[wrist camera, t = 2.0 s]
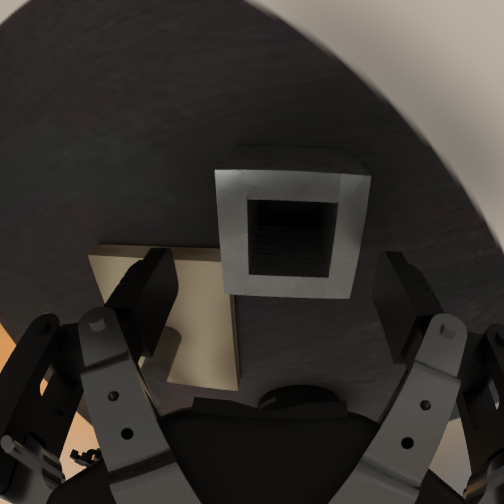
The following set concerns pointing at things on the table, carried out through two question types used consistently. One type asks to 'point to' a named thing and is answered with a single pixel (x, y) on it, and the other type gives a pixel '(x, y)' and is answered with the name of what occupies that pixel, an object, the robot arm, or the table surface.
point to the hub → (283, 237)
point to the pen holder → (295, 397)
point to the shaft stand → (183, 318)
